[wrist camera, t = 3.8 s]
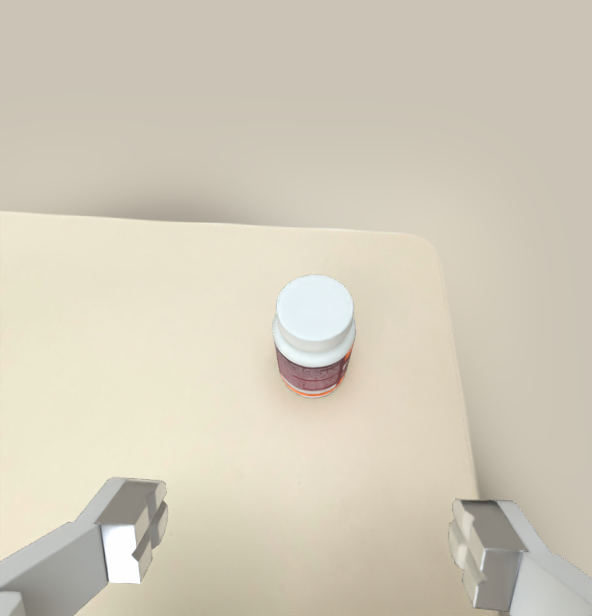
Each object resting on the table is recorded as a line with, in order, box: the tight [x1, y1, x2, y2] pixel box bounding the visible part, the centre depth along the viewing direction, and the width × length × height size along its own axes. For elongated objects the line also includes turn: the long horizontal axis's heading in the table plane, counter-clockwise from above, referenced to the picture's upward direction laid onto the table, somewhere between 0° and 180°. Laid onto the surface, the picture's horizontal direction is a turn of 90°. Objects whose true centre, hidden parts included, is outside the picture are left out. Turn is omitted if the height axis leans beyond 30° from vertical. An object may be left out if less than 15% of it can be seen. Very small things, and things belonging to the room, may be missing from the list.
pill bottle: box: [272, 275, 356, 398], centre depth 22 cm, size 5×5×8 cm
